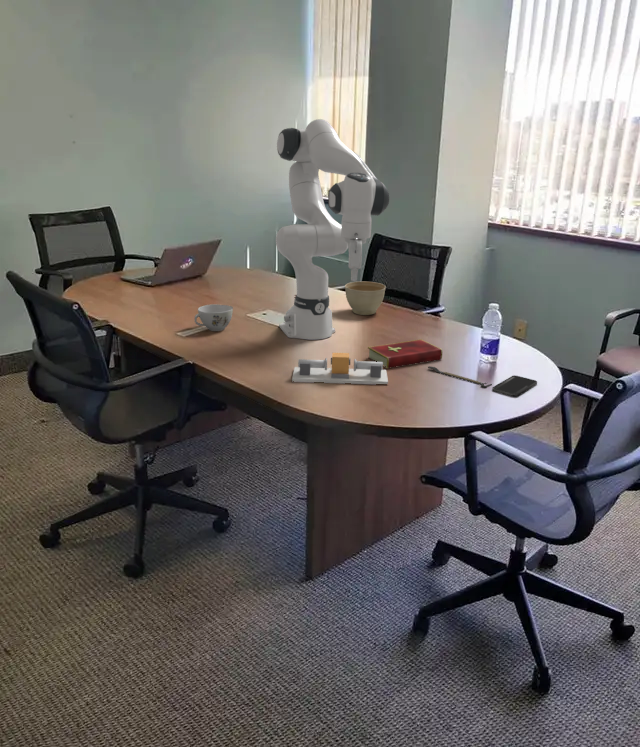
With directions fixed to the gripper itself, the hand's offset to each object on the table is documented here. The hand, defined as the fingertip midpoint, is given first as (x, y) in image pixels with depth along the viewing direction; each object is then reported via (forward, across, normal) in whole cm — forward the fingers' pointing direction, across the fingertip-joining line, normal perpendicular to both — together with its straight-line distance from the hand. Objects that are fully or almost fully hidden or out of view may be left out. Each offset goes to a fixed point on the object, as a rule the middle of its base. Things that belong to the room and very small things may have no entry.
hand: (353, 276), depth 202 cm
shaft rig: (+27, -14, +3) cm, 31 cm away
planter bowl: (+30, +60, -6) cm, 68 cm away
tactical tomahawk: (+28, -10, -33) cm, 44 cm away
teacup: (+29, +30, +50) cm, 65 cm away
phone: (+27, -17, -48) cm, 58 cm away
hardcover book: (+28, +5, -18) cm, 34 cm away
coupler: (+26, -14, +3) cm, 30 cm away
